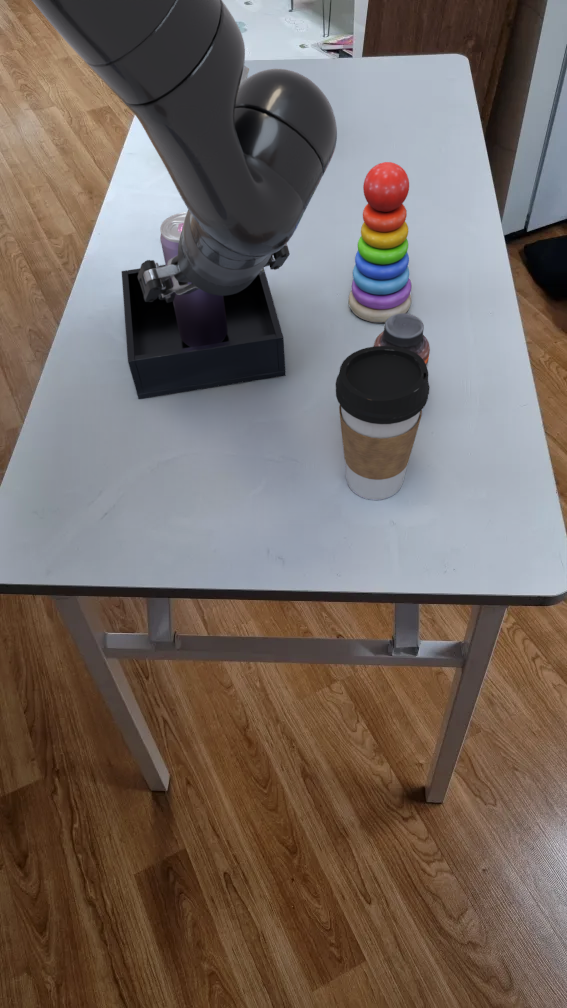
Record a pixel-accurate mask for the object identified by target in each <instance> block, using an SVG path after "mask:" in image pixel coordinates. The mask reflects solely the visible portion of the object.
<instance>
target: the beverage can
mask: <svg viewBox="0 0 567 1008" xmlns="http://www.w3.org/2000/svg"><path fill="white" fill-rule="evenodd" d="M186 214H187V211H184V212H183V211H182V212H178V213H174V214H173V215H170V216H168V217H167V218H166V219H164V220H163V221H162V223H161V224H160V227H159V228H160V229H159V231H160V239H159V241H160V244H161V249H162V254H163V259H164V265H166V266H167V263H168V260H170V259H172V258H173V257H175V256H177V255H178V244H179V239H180V236H181V232H182V228H183V224H184V221H185V217H186ZM171 281H172V278H171ZM189 284H191V283H190V282H188V285H189ZM172 285H173V281H172ZM173 304H174V309H175V314H176V319H177V324H178V329H179V334H180V337H181V339H182V341H183V342H184V343H185V344H187V345H188V346H189V347H195V346H202V345H208V344H214V343H221V342H222V341H223V340H224V338H225V337H226V335H227V332H228V327H227V320H226V313H225V305H224V298H223V296H220V295H213V294H209V293H207V292H204V291H202V290H201V289H198V290H196V291H194V292H192V293H190V294H186V295H177V294H176V295H175V298H174V301H173Z"/></svg>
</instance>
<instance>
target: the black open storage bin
mask: <svg viewBox="0 0 567 1008" xmlns="http://www.w3.org/2000/svg"><path fill="white" fill-rule="evenodd" d="M164 266H166V265H165V264H162V265H159V267H164ZM263 270H264V272H263V273H261V275H258V276H256V278H255V279H254V280H253V281H252V283H251V284H250V285H249V286H247V287H246V288H245V289H243V290H242V291H240V292H238V293H235V294H232V295H225V296H223V298H224V305H225V313H226V320H227V327H228V332H227V335H226V337H225V338H224V340H223V341H222V342H221V343H214V344H208V345H202V346H195V347H189V346H188V345H187V344H185V343H184V342H183V341H182V339H181V337H180V334H179V329H178V324H177V319H176V314H175V309H174V304H173V302H169V303H167V302H166V299H164V300H160V299H159V295H158V297H157V299H155V300H154V301H153V302H145V300H144V295H143V291H142V288H141V285H140V282H139V280H138V274H139V271H140V267H139V268H132V269H128V270H121V284H122V296H123V298H122V299H123V311H124V314H123V315H124V326H125V340H126V354H127V363H128V367H129V370H130V374H131V378H132V381H133V385H134V389H135V392H136V395H137V399H138V400H143V399H149V398H156V397H162V396H168V395H169V396H170V395H175V394H181V393H182V394H183V393H188V392H193V391H199V390H207V389H212V388H213V389H214V388H218V387H225V386H231V385H237V384H244V383H249V382H256V381H263V380H269V379H274V378H275V379H276V378H282V377H286V376H287V371H286V355H285V339H284V338H285V337H284V334H283V330H282V326H281V324H280V323H281V322H280V320H279V316H278V313H277V310H276V305H275V303H274V299H273V296H272V293H271V288H270V285H269V282H268V278H267V275H266V274H267V273H266V270H265V267H264V268H263Z"/></svg>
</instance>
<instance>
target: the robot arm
mask: <svg viewBox="0 0 567 1008" xmlns="http://www.w3.org/2000/svg"><path fill="white" fill-rule="evenodd" d="M31 2H33V4H34V5H35V7H36V8H37V9H38V10H39V11H40V13H41V14H42V15H43V16H44V18H45V19H46V20H47V21H48V23H50V25H51V26H52V27H53V28H54V30H56V32H57V33H58V34H59V36H61V37H62V38H63V40H64V41H65V42H66V43H67V44H68V45H69V46H70V48H72V50H73V51H74V52H75V53H76V54H77V55H78V56H79V57H80V58H81V59H82V60H83V61H84V62H85V64H86V65H87V66H88V67H89V68H90V69H91V70H92V71H93V72H94V73H95V74H96V75H97V77H98V78H100V80H101V81H103V83H105V85H106V86H107V87H108V88H109V89H110V91H112V92H113V93H114V95H116V97H117V98H118V99H119V100H121V102H122V103H124V105H125V106H126V107H127V108H128V109H129V110H130V111H131V112H132V113H133V114H134V115H135V117H136V118H137V120H138V121H139V123H140V125H141V126H142V128H143V130H144V132H145V133H146V135H147V137H148V139H149V140H150V142H151V144H152V146H153V147H154V149H155V151H156V153H157V154H158V156H159V158H160V160H161V161H162V164H163V165H164V167H165V169H166V171H167V172H168V175H169V177H170V179H171V180H172V183H173V184H174V186H175V188H176V190H177V192H178V194H179V196H180V198H181V200H182V202H183V204H185V207H186V208H187V211H186V212H187V214H186V217H185V221H184V224H183V228H182V232H181V236H180V239H179V244H178V255H177V256H175V257H173V258H172V259H170V260H168V263H167V266H164V267H159V266H160V265H159V262H156V261H155V260H154V259H151V260H150V259H147V260H145V261H143V262H142V263H140V267H139V268H140V271H139V274H138V280H139V282H140V285H141V288H142V291H143V295H144V300H145V302H153V301H154V300H155V299H157V297H158V295H159V299H160V300H164V299H166V302H167V303H169V302H173V301H174V298H175V295H176V294H177V295H186V294H190V293H192V292H194V291H196V290H198V289H201V290H202V291H204V292H207V293H209V294H213V295H220V296H225V295H232V294H235V293H238V292H240V291H242V290H243V289H245V288H246V287H247V286H249V285H250V284H251V283H252V281H253V280H254V279H255V278H256V276H258V275H261V273H263V272H264V270H265V268H267V267H269V269H270V270H274V271H276V270H279V269H280V268H281V267H283V265H284V263H286V261H287V259H288V258H289V256H290V254H291V253H290V250H289V246H288V242H289V241H290V239H292V237H293V236H294V234H295V232H296V230H297V228H298V227H299V224H300V222H301V220H302V218H303V216H304V213H306V210H307V208H308V207H309V204H310V202H311V200H312V198H313V197H314V194H315V192H316V190H317V189H318V187H319V185H320V182H321V181H322V179H323V177H324V175H325V173H326V171H327V168H328V167H329V165H330V163H331V161H332V158H333V156H334V153H335V151H336V147H337V140H338V127H337V120H336V116H335V113H334V110H333V107H332V104H331V103H330V101H329V99H328V98H327V96H326V95H325V94H324V91H322V89H321V88H320V87H319V86H318V85H317V84H316V83H314V81H312V80H311V79H309V77H307V76H305V75H303V74H301V73H298V72H296V71H293V70H290V69H286V68H269V69H264V70H261V71H259V72H256V73H254V74H252V75H250V76H249V77H247V79H246V80H245V81H244V82H243V83H242V84H241V85H240V82H241V78H242V73H243V69H244V66H245V59H246V48H245V47H246V45H245V40H244V37H243V34H242V31H241V29H240V27H239V25H238V24H237V21H236V19H235V18H234V16H233V15H232V13H231V11H230V9H229V8H228V7H227V5H226V4H225V2H224V1H223V0H31ZM263 268H264V270H263ZM171 278H172V281H173V285H172V281H171ZM188 282H190V283H191V284H189V285H188Z"/></svg>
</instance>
